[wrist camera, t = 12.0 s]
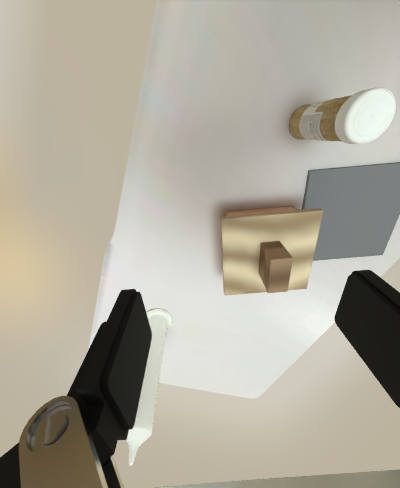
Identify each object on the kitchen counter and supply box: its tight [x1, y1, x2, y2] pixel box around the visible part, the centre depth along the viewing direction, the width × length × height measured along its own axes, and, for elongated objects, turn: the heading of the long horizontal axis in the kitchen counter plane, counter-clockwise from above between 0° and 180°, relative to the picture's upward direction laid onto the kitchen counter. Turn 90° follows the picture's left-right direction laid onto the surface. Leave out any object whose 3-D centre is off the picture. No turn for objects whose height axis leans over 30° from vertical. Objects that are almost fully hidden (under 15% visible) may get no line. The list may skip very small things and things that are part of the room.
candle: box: [126, 309, 173, 465], centre depth 39 cm, size 7×7×25 cm
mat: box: [302, 162, 400, 261], centre depth 38 cm, size 18×18×1 cm
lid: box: [221, 208, 324, 295], centre depth 32 cm, size 15×15×6 cm
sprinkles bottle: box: [290, 88, 396, 144], centre depth 25 cm, size 5×5×13 cm
